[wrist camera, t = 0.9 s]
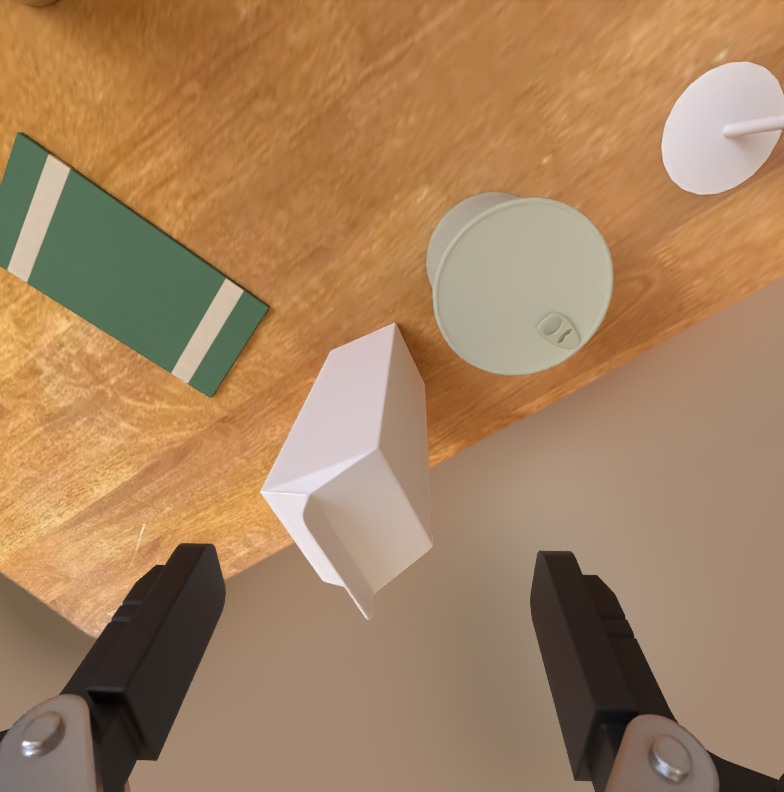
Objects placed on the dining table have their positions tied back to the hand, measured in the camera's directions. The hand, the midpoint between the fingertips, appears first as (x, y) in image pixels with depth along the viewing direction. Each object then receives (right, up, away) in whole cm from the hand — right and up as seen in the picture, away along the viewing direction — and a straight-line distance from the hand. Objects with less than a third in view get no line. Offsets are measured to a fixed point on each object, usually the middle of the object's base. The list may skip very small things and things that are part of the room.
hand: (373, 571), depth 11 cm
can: (+8, +15, +22) cm, 28 cm away
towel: (-20, +13, +24) cm, 34 cm away
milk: (-1, +7, +26) cm, 27 cm away
